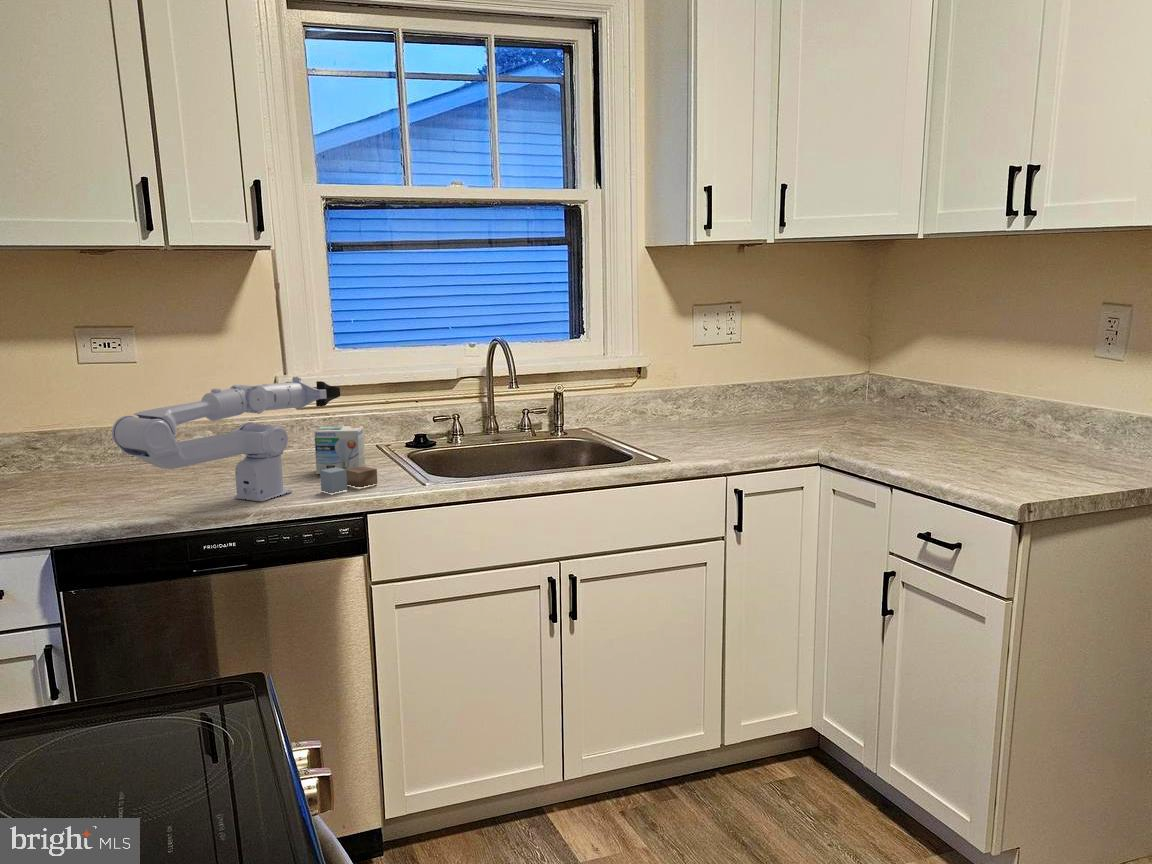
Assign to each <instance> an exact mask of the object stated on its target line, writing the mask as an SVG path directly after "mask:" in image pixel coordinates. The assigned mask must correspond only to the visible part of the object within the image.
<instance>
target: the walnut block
mask: <svg viewBox="0 0 1152 864" xmlns="http://www.w3.org/2000/svg"><path fill="white" fill-rule="evenodd" d="M346 475H347V485H351V486H355V487H364V486H368V485H373V484H377V483H378V469H377V468H374V467H369V466H366V465H365V466H361V467H356V468H352V469H347V470H346Z"/></svg>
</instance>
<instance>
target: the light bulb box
mask: <svg viewBox="0 0 1152 864" xmlns="http://www.w3.org/2000/svg"><path fill="white" fill-rule="evenodd" d="M364 431H365V430H364V425H359V426H358V425H357V426H356V425H354V426H353V425H352V426H350V425H349V426H320V427H319V428H318V429H316V430H314V446H315V447H314V448H315V449H314V452H315V453H314V454H315V469H316V475H317V474H320V470H325V469H330V468H335V467H336V468H341V469H345V470H347V469H352V468H356V467H361V466H365V467H366V454H365V451H366V450H365V432H364Z"/></svg>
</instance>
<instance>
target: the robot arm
mask: <svg viewBox="0 0 1152 864" xmlns="http://www.w3.org/2000/svg"><path fill="white" fill-rule="evenodd" d="M291 380H292V381H286V382H279V383H278V382H275V383H264V384H263V383H262V384H257V385H247V384H246V385H245V384H233V385H232V386H231V387H230V388H227V389H223V390H222V389H221V388H212V389H211V391H210V392H207V393H205V394H204V395H203V396H202V398H201V400H199V401H194V402H193V401H191V402H188V403H181V404H175V405H170V406H169V405H168V406H163V407H157V408H152V409H148V410H142V411H137V412H135V413H133V415H134V416H133V415H124V416H122V417H119V418H118V419H117V420H116V421H115V422H114V424H113V425H112V428H111V437H112V440H113V443H114V444H115V445H116V446H117V447H118V448H119V449H120V450H121V451H122V453H124V454H127V455H129V456H132V457H134V458H137V459H140V460H141V461H143V462H146V463H148V464H150V465H152V466H155V467H157V468H159V469H165V470H174V469H179V468H185V467H189V466H190V467H191V466H194V465H198V464H203V463H208V462H212V461H217V460H222V459H226V458H231V457H236V456H241V455H244V456H245V457H244V459H242V460H240V461H239V462H237V464H236V465H235V471H234V474H235V487H236V495H234V497H233V498H234V499H238V500H239V499H240V500H245V499H246V500H247V501H255V502H265V501H268V500H271V498H272V499H275V498H277V496H278V497H281V496H285V495H286V493H287V494H289V493H293V489H289V488H284V479H283V465H282V455H284V451H285V449H286V448H287V445H288V441H289V438H288V437H289V436H288V433H287V430H286V429H285V427H282V426H281V425H268V424H262V423H261V424H259V423H255V422H246V423H243V424H242V425H241V426H239V427H238V428H235V429H232V430H231V431H230V432H225V433H222V434H215V435H210V436H204V437H200V438H199V437H198V438H193V439H187V440H182V441H178V442H177V440H176V438H175V435H176V434H177V427H178V425H181V424H182V425H183V424H185V423H188V422H192V421H196V420H199V419H203V418H206V419H207V420H209V421H211V422H212V421H213V422H214V421H219V420H223V419H228V418H233V417H235V416H240V415H242V414H244V413H248V414H249V413H250V414H257V415H258V414H262V413H264V412H265V411H274V410H284V409H286V410H287V409H302V408H305V407H306V406H309V405H311V404H312V403H314V402H315V405H316V406H315V407H324V406H327V404H328V403H329V402H332V400H335V399H337V398H340V397H341V389H340V387H339V386H335V385H334V386H333V385H329V384H328V383H326V382H325V381H318V380H317V381H316V387H315V386H311V385H309V384H307V383H305V382H303V381H302V378H301V376H293V377H292V379H291ZM135 416H136V417H135ZM280 495H281V496H280ZM274 497H275V498H274Z"/></svg>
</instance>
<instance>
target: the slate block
mask: <svg viewBox="0 0 1152 864" xmlns="http://www.w3.org/2000/svg"><path fill="white" fill-rule="evenodd" d="M319 476H320V478H319V479H320V490H321V491H325V492H328V493H335V492H339V491H343V490H347V491H348V487H347V475H346V470H345V469H341V468H336V467H335V468H330V469H325V470H320V475H319ZM321 491H320V492H321Z"/></svg>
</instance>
